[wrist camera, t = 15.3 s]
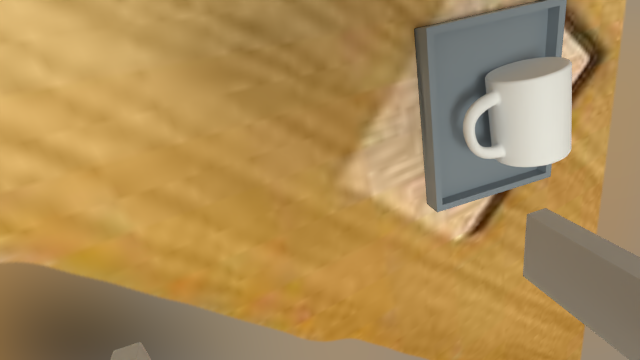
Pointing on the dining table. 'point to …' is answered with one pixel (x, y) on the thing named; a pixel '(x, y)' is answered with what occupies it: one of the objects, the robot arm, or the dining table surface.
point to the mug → (525, 113)
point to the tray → (475, 94)
